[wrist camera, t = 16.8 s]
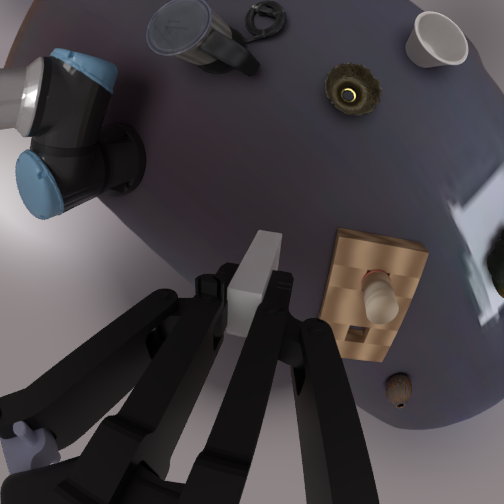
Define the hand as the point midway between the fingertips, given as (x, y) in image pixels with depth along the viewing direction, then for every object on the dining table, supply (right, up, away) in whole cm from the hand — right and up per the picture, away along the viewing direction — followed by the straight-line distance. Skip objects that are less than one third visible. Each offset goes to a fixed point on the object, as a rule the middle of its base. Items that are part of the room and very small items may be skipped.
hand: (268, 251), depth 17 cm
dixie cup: (+26, +32, +10) cm, 42 cm away
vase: (+36, -32, +38) cm, 61 cm away
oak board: (+20, -9, +31) cm, 38 cm away
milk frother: (-3, +35, +16) cm, 39 cm away
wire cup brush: (+14, +24, +17) cm, 32 cm away
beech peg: (+21, -4, +28) cm, 35 cm away
